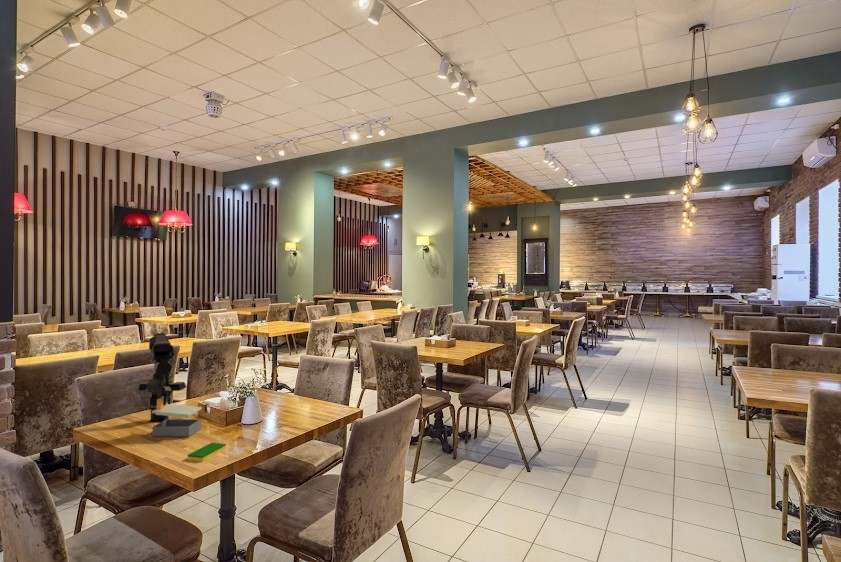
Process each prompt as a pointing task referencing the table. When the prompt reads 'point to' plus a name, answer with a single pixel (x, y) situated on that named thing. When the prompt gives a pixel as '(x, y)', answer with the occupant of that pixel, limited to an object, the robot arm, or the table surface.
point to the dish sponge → (206, 452)
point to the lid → (174, 409)
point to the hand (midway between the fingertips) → (162, 405)
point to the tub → (177, 428)
